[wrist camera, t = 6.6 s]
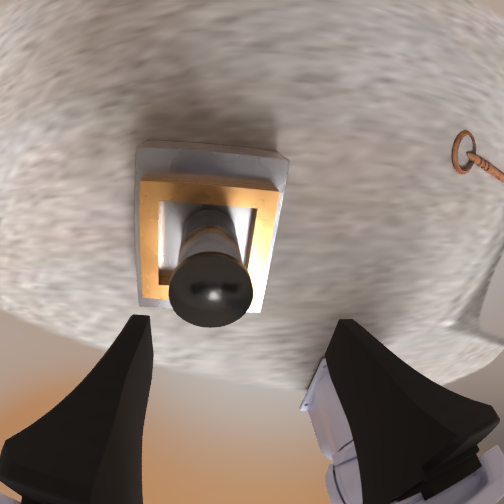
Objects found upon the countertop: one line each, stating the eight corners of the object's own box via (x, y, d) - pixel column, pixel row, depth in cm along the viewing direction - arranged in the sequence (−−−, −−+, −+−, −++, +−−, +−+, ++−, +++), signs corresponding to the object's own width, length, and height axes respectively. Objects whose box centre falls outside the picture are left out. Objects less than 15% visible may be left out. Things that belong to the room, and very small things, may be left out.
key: (527, 162, 21) (458, 104, 18) (533, 164, 21) (466, 104, 17) (516, 208, 23) (445, 167, 20) (522, 211, 23) (453, 169, 19)
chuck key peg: (236, 261, 18) (248, 327, 13) (178, 259, 17) (170, 326, 12) (242, 207, 16) (258, 260, 11) (179, 204, 16) (166, 257, 11)
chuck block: (253, 286, 22) (262, 322, 19) (145, 280, 21) (136, 316, 17) (277, 151, 18) (295, 164, 14) (147, 140, 16) (131, 150, 13)
